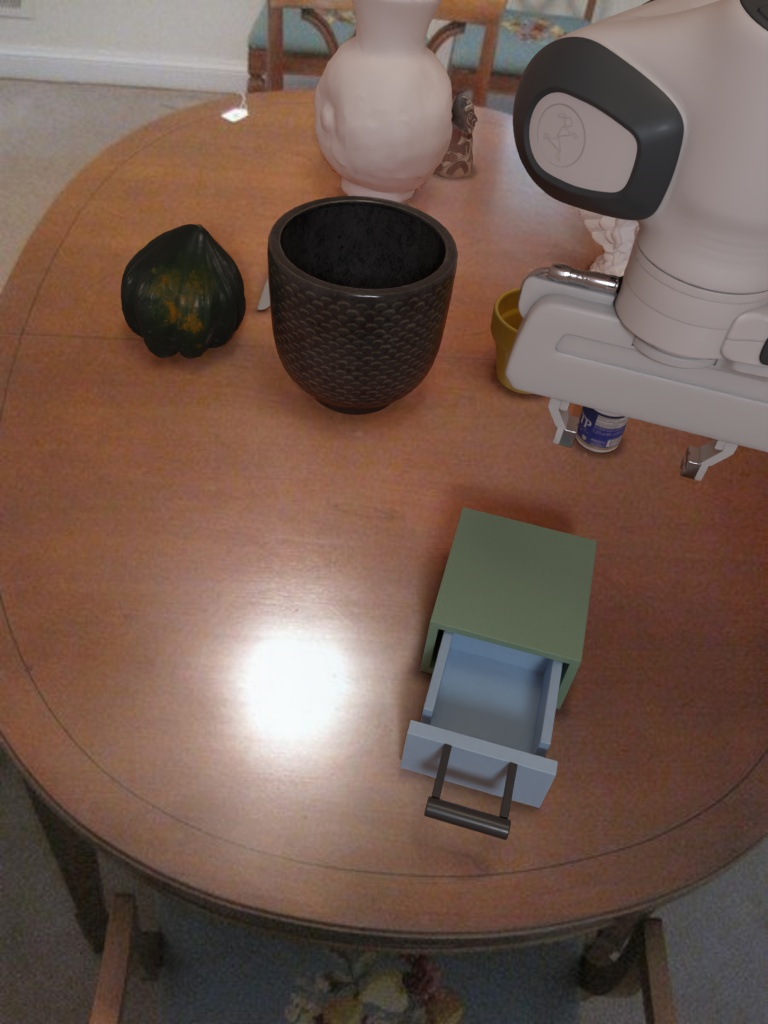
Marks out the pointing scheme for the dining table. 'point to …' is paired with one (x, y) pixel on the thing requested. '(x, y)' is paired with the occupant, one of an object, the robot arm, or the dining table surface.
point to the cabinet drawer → (485, 729)
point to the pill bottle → (600, 430)
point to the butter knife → (264, 297)
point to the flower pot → (505, 332)
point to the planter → (359, 298)
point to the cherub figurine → (611, 241)
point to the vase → (385, 102)
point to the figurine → (459, 140)
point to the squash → (183, 293)
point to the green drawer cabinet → (515, 591)
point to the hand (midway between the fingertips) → (625, 456)
